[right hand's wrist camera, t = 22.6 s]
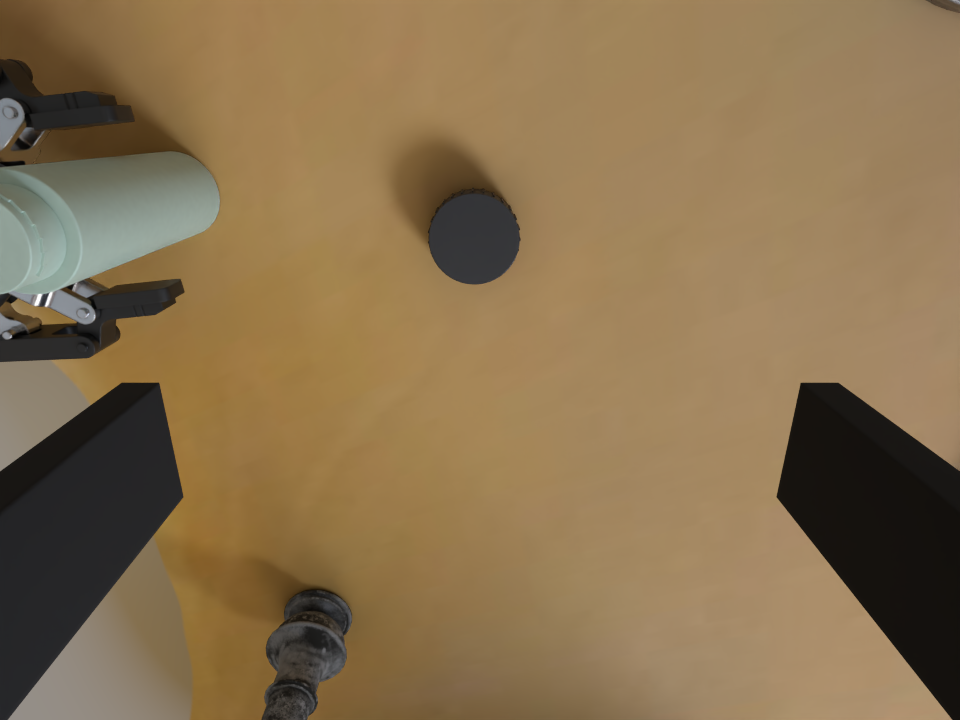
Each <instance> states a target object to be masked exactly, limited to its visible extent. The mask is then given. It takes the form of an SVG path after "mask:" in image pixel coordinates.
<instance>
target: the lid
mask: <svg viewBox="0 0 960 720" xmlns="http://www.w3.org/2000/svg"><path fill="white" fill-rule="evenodd" d="M435 213H436V214H435V216H434V217H433V218H432V220H431V226H430V229H429V231H428V233H429V241H428V244H429V246H430V251H431V254H432V257H433V259H434V261H435V263H436V264H437V265H438V267H439V268H440V269H441V270H442V271H443V272H444V273H445V274H446V275H448V276H449V277H450V278H452V279H454V280H456V281H459V282H462V283H466V284H483V283H487V282H490V281H492V280H495V279H496V278H498V277H500V276H501V275H502V274H504V273H505V272H506V271H507V270H508V269H509V267H510V266H511V265H512V263H513V262H514V260H515V258H516V255H517V253H518V251H519V242H520V236H519V230H520V228H519V225H518V224H517V222H516V220H517V218H516V216H515V214H513V212H512V211H511V207H510V205H507V204H506V203H505V202H504V200H503V198H500V197H498V196H497V195H495V194H494V192H492V193H491V192H488V191H485V190H484V189H482V190H479V189H474V188H472V189H469V190H462V191H461V192H458V193H456V194H454V193H453V194H452V195H451V197H449V198H448V199H447V200H444V201H443V203H442V205H441V206H440V207H438V208H437V210H436V212H435Z"/></svg>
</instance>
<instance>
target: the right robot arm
mask: <svg viewBox="0 0 960 720" xmlns="http://www.w3.org/2000/svg"><path fill="white" fill-rule="evenodd" d="M927 1H928V2H930V3H932V4H934V5H936V6H939V7H941V8H944V9H946V10H950V11H954V12H958V13H960V0H927ZM182 498H183V493H182V488H181V483H180V478H179V474H178V469H177V464H176V460H175V455H174V450H173V446H172V441H171V436H170V432H169V427H168V422H167V417H166V413H165V408H164V403H163V399H162V394H161V389H160V385H159V383H121V384H119V385H118V386H117V387H115V388H114V389H113V390H111V391H110V392H108V393H107V394H106V395H104V396H103V397H102V398H100V399H99V400H97V401H96V402H95V403H93V404H92V405H91V406H89V407H88V408H87V409H85V410H84V411H82V412H81V413H80V414H78V415H77V416H76V417H74V418H73V419H72V420H70V421H69V422H67V423H66V424H65V425H63V426H62V427H61V428H59V429H58V430H56V431H55V432H54V433H52V434H51V435H50V436H48V437H47V438H45V439H44V440H43V441H41V442H40V443H39V444H37V445H36V446H34V447H33V448H32V449H30V450H29V451H28V452H26V453H25V454H24V455H22V456H21V457H19V458H18V459H17V460H15V461H14V462H13V463H11V464H10V465H8V466H7V467H6V468H4V469H3V470H2V471H0V720H8V719H9V717H10V716H11V715H12V713H13V712H14V711H15V710H16V708H17V707H18V706H19V704H20V703H21V702H22V701H23V700H24V698H25V697H26V696H27V694H28V693H29V692H30V691H31V689H32V688H33V687H34V685H35V684H36V683H37V682H38V681H39V679H40V678H41V677H42V675H43V674H44V673H45V672H46V670H47V669H48V668H49V667H50V665H51V664H52V663H53V662H54V660H55V659H56V658H57V656H58V655H59V654H60V653H61V651H62V650H63V649H64V648H65V646H66V645H67V644H68V643H69V641H70V640H71V639H72V637H73V636H74V635H75V634H76V632H77V631H78V630H79V629H80V627H81V626H82V625H83V623H84V622H85V621H86V620H87V618H88V617H89V616H90V615H91V613H92V612H93V611H94V610H95V608H96V607H97V606H98V605H99V603H100V602H101V601H102V599H103V598H104V597H105V596H106V594H107V593H108V592H109V591H110V589H111V588H112V587H113V585H114V584H115V583H116V582H117V580H118V579H119V578H120V577H121V575H122V574H123V573H124V572H125V570H126V569H127V568H128V566H129V565H130V564H131V563H132V562H133V560H134V559H135V558H136V556H137V555H138V554H139V553H140V551H141V550H142V549H143V548H144V546H145V545H146V544H147V542H148V541H149V540H150V539H151V537H152V536H153V535H154V534H155V532H156V531H157V530H158V529H159V527H160V526H161V525H162V524H163V522H164V521H165V520H166V518H167V517H168V516H169V515H170V513H171V512H172V511H173V510H174V508H175V507H176V506H177V505H178V503H179V502H180V501H181V499H182ZM777 498H778V499H779V501H780V502H781V503H782V505H783V506H784V507H785V508H786V510H787V511H788V512H789V513H790V515H791V516H792V517H793V518H794V520H795V521H796V522H797V524H798V525H799V526H800V527H801V529H802V530H803V531H804V532H805V534H806V535H807V536H808V537H809V539H810V540H811V541H812V543H813V544H814V545H815V546H816V548H817V549H818V550H819V551H820V553H821V554H822V555H823V556H824V558H825V559H826V560H827V562H828V563H829V564H830V565H831V567H832V568H833V569H834V570H835V572H836V573H837V574H838V575H839V577H840V578H841V579H842V580H843V582H844V583H845V584H846V586H847V587H848V588H849V589H850V591H851V592H852V593H853V594H854V596H855V597H856V598H857V599H858V601H859V602H860V603H861V605H862V606H863V607H864V608H865V610H866V611H867V612H868V613H869V615H870V616H871V617H872V618H873V620H874V621H875V622H876V624H877V625H878V626H879V627H880V629H881V630H882V631H883V632H884V634H885V635H886V636H887V637H888V639H889V640H890V641H891V643H892V644H893V645H894V646H895V648H896V649H897V650H898V651H899V653H900V654H901V655H902V656H903V658H904V659H905V660H906V662H907V663H908V664H909V665H910V667H911V668H912V669H913V670H914V672H915V673H916V674H917V675H918V677H919V678H920V679H921V681H922V682H923V683H924V684H925V686H926V687H927V688H928V689H929V691H930V692H931V693H932V694H933V696H934V697H935V698H936V700H937V701H938V702H939V703H940V705H941V706H942V707H943V708H944V710H945V711H946V712H947V713H948V715H949V716H950V717H951V719H952V720H960V471H958V470H957V469H956V468H954V467H953V466H952V465H950V464H949V463H947V462H946V461H945V460H943V459H942V458H941V457H939V456H938V455H937V454H935V453H934V452H932V451H931V450H930V449H928V448H927V447H926V446H924V445H923V444H921V443H920V442H919V441H917V440H916V439H915V438H913V437H912V436H910V435H909V434H908V433H906V432H905V431H904V430H902V429H901V428H900V427H898V426H897V425H895V424H894V423H893V422H891V421H890V420H889V419H887V418H886V417H884V416H883V415H882V414H880V413H879V412H878V411H876V410H875V409H873V408H872V407H871V406H869V405H868V404H867V403H865V402H864V401H863V400H861V399H860V398H858V397H857V396H856V395H854V394H853V393H852V392H850V391H849V390H847V389H846V388H845V387H843V386H842V385H841V384H839V383H801V385H800V389H799V394H798V399H797V403H796V408H795V413H794V417H793V422H792V427H791V431H790V436H789V441H788V446H787V450H786V455H785V460H784V464H783V469H782V474H781V478H780V483H779V488H778V493H777Z"/></svg>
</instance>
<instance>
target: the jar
mask: <svg viewBox="0 0 960 720" xmlns="http://www.w3.org/2000/svg"><path fill="white" fill-rule="evenodd" d="M219 206H220V197H219V191H218V187H217V185H216V182H215V180H214V178H213V176H212V175H211V174H210V172H209V171H208V170H207V168H206V167H205V166H204V165H203V164H201V163H200V162H199V161H198V160H196V159H195V158H193V157H191V156H189V155H187V154H184V153H180V152H175V151H166V152H156V153H145V154H135V155H124V156H114V157H103V158H93V159H82V160H72V161H62V162H51V163H41V164H30V165H20V166H9V167H0V294H4V293H8V292H11V291H15V292H19V293H24V294H46V293H50V292H54V291H56V290H59V289H61V288H64V287H66V286H69V285H71V284H74V283H76V282H79V281H81V280H84V279H86V278H89V277H91V276H94V275H96V274H99V273H101V272H104V271H106V270H109V269H111V268H114V267H116V266H119V265H121V264H124V263H126V262H129V261H131V260H134V259H136V258H139V257H142V256H144V255H147V254H149V253H152V252H154V251H157V250H159V249H162V248H164V247H167V246H169V245H172V244H174V243H177V242H179V241H182V240H184V239H187V238H189V237H192V236H194V235H197V234H199V233H201V232H203V231H205V230H206V229H208V228H209V227H210V226H211V225H212V223H213V222H214V221H215V219H216V217H217V214H218V211H219Z"/></svg>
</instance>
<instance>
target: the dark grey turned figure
mask: <svg viewBox="0 0 960 720" xmlns="http://www.w3.org/2000/svg"><path fill="white" fill-rule="evenodd" d="M284 618H285V622H283V623H282V624H281V625H280V626H279V628H278V629H276V630H275V631H274V632H273V633H272V634H271V636H270V637H269V639H268V641H267V645H266V654H267V658H268V660H269V662H270V664H271V665H272V666H273V667H274V669H275V670H276V671H277V672H278V673H277V675H276V678H275V681H274V683H272V684H271V685H270V686H269V687H268V688H267V690H266V692H265V696H264V698H265V703H266V705H267V706H266V709H265V711H264V714H263V717H262V720H307V718H308V716H309V715H310V714H312V713H313V712H314V711H315V709H316V707H317V704H318V698H317V695H316V691H317V687H318V684H319V682H322V681H325V680H328V679H330V678H332V677H334V676H335V675H336V674H338V673H339V672H340V671H341V669H342V668H343V667H344V665H345V661H346V658H347V653H346V648H345V643H344V637H343V636H344V635H345V634H346V633H347V631H348V630H349V629H350V626H351V622H352V614H351V611H350V609H349V607H348V606H347V604H346V603H345V602H344V601H343V600H342V599H341V598H339V597H338V596H336V595H334V594H332V593H330V592H326V591H322V590H309V591H303V592H301V593H299V594H297V595H295V596H294V597H293V598H291V599H290V600H289V602H288V603H287V605H286V607H285V611H284Z"/></svg>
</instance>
